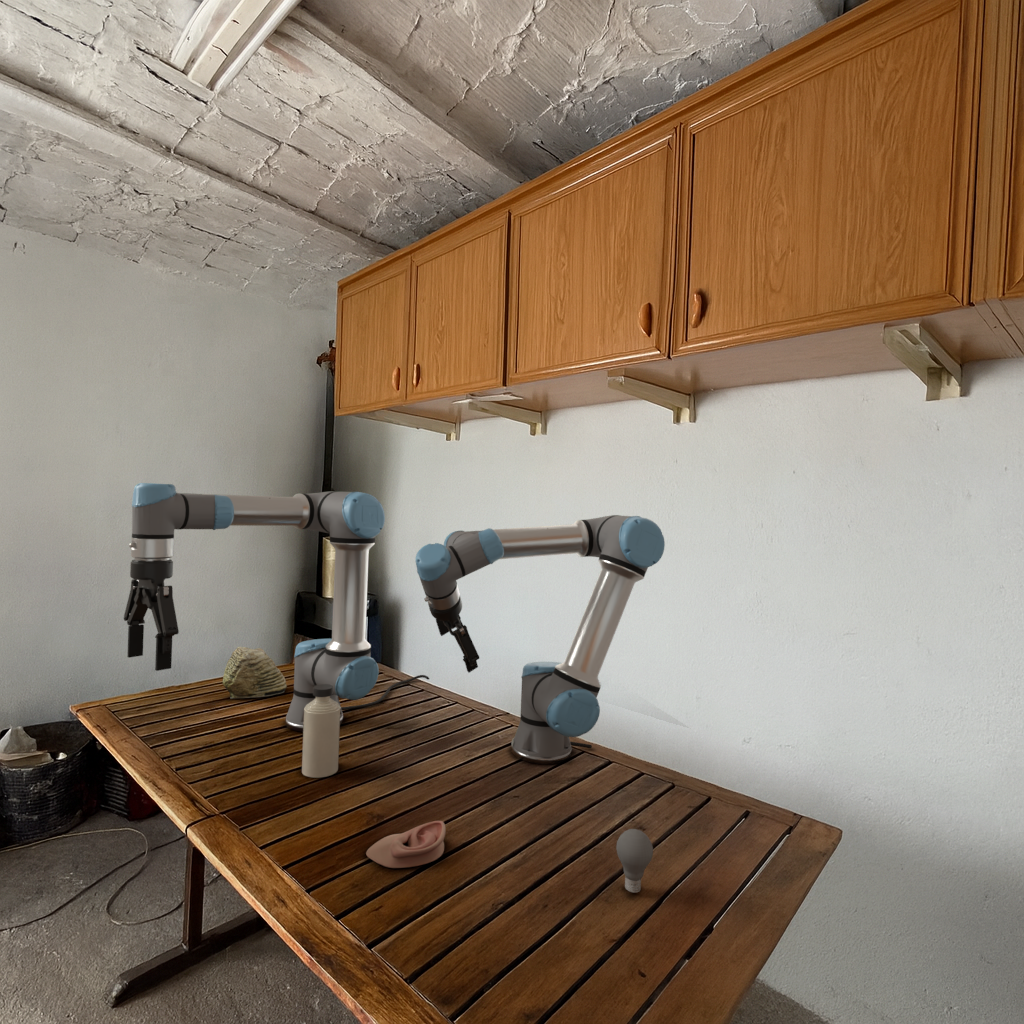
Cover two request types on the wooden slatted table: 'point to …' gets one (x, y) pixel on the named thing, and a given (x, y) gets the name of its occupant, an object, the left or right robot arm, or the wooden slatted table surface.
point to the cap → (323, 690)
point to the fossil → (252, 674)
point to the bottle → (321, 737)
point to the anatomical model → (410, 846)
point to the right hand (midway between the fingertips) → (458, 650)
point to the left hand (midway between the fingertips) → (148, 662)
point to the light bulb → (634, 857)
